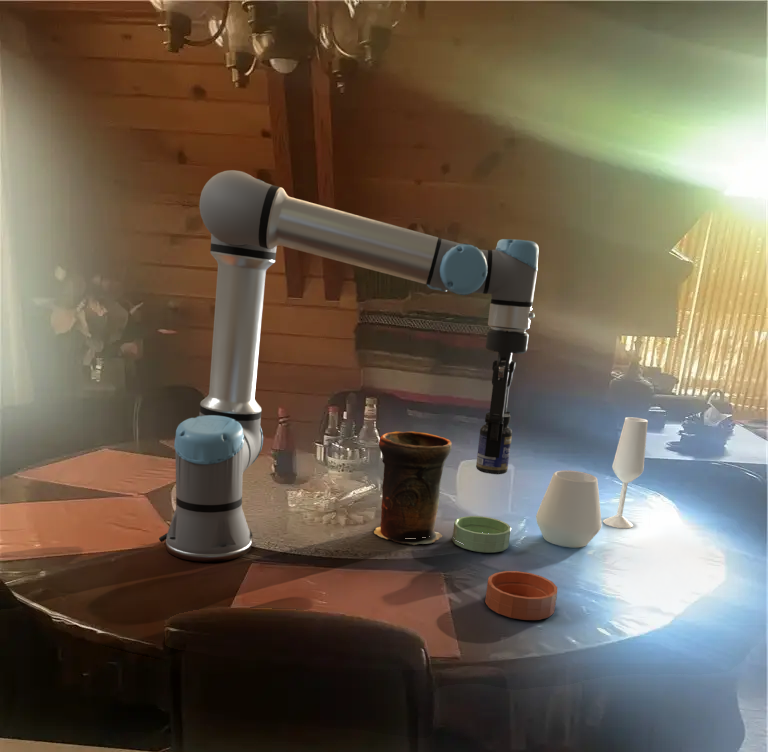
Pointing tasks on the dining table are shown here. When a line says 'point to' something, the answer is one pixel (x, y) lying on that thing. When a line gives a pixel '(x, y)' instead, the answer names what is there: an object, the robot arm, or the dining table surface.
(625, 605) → the dining table surface
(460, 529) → the back bowl
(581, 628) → the dining table surface
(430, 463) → the vessel
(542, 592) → the front bowl
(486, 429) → the pill bottle
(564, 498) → the cup
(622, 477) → the champagne flute
